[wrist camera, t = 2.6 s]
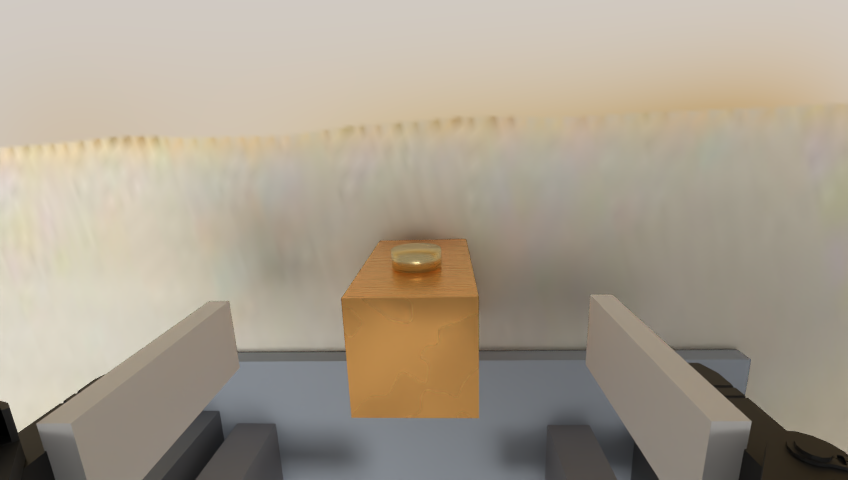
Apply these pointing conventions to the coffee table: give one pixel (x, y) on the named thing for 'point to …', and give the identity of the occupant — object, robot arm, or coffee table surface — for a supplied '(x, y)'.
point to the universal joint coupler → (413, 332)
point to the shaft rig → (417, 425)
